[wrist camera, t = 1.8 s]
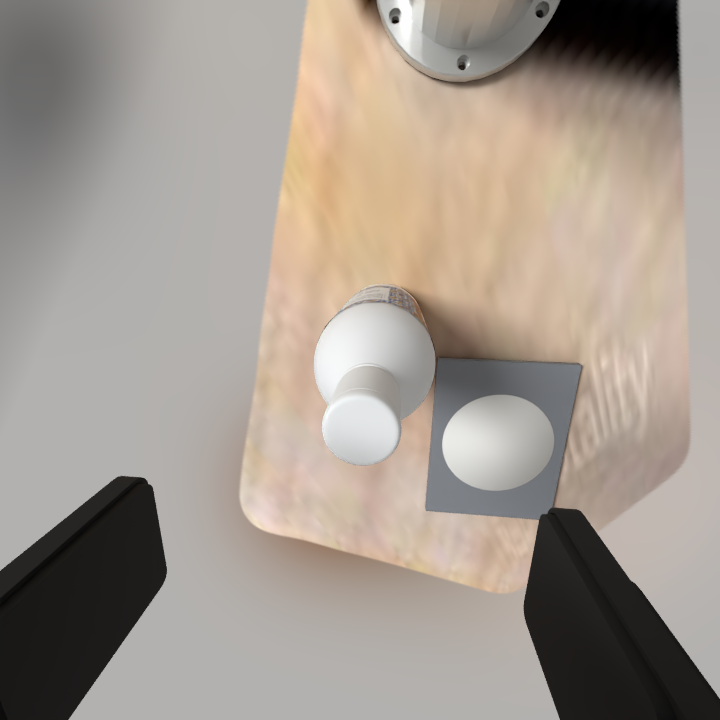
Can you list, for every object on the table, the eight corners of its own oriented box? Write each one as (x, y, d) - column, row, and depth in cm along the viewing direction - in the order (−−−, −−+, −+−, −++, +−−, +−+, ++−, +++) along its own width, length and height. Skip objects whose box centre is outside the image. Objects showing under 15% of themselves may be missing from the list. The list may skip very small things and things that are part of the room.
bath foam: (419, 362, 33) (449, 520, 14) (343, 358, 33) (271, 504, 14) (425, 284, 31) (470, 344, 12) (344, 281, 31) (261, 334, 12)
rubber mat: (437, 357, 32) (438, 359, 32) (578, 363, 31) (582, 365, 31) (425, 506, 37) (425, 511, 37) (547, 516, 36) (550, 521, 36)
